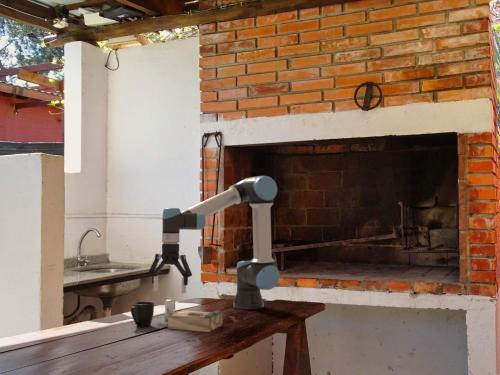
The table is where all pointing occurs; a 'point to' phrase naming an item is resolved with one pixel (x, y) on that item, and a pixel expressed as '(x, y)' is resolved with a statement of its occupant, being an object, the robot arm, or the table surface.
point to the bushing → (169, 308)
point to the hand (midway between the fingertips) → (169, 292)
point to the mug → (142, 313)
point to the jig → (195, 320)
